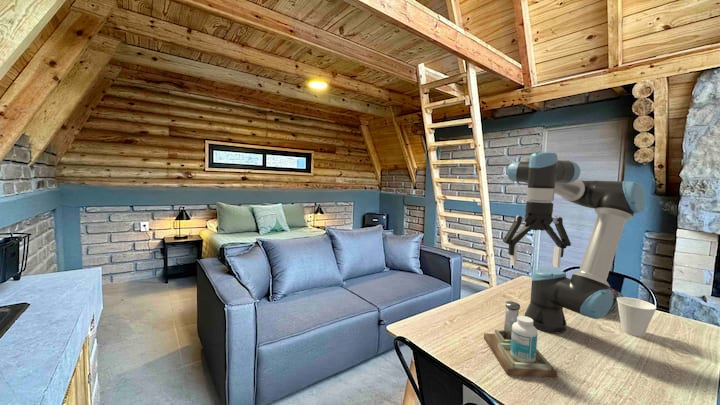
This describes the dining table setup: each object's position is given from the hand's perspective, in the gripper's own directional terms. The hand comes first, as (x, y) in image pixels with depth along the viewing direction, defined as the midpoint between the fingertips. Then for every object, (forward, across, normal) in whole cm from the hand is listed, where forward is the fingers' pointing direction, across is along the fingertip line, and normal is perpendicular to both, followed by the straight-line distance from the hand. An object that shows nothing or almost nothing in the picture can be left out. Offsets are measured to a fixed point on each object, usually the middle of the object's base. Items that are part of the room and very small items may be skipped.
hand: (534, 265), depth 98 cm
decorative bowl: (+33, -52, -50) cm, 79 cm away
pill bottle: (+31, +3, +2) cm, 31 cm away
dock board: (+33, +2, -2) cm, 33 cm away
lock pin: (+31, +2, -8) cm, 32 cm away
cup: (+33, -53, -24) cm, 67 cm away
